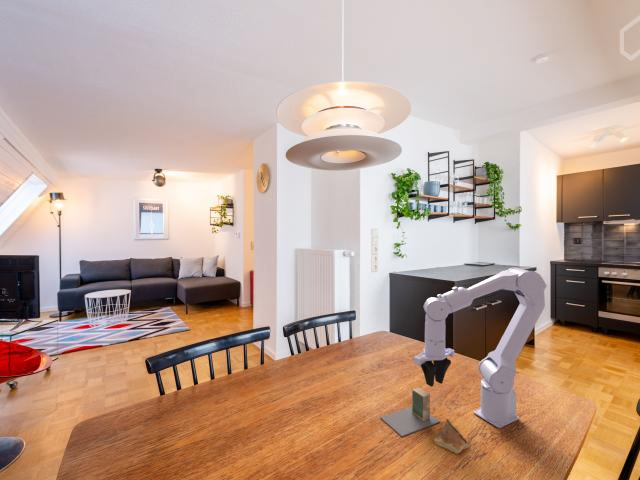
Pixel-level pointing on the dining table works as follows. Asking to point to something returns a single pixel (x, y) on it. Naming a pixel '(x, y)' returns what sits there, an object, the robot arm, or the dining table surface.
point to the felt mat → (407, 421)
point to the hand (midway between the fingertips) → (434, 383)
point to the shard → (450, 438)
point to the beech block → (421, 404)
